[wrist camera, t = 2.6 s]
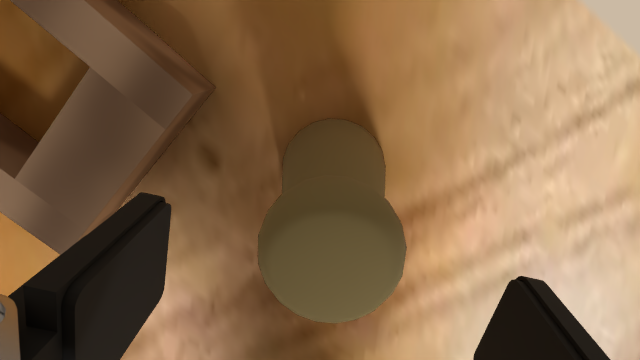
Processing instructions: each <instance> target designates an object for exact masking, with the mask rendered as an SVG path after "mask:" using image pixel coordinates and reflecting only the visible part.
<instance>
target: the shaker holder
mask: <svg viewBox="0 0 640 360" xmlns="http://www.w3.org/2000/svg"><path fill="white" fill-rule="evenodd" d="M10 1H11V2H13V3H14V4H15V5H16V6H17V7H19V8H20V9H21V10H22V11H23V12H25V13H26V14H27V15H28V16H29V17H31V18H32V19H33V20H34V21H35V22H37V23H38V24H39V25H40V26H41V27H43V28H44V29H45V30H46V31H48V32H49V33H50V34H51V35H52V36H54V37H55V38H56V39H57V40H58V41H60V42H61V43H62V44H63V45H64V46H66V47H67V48H68V49H69V50H70V51H72V52H73V53H74V54H75V55H76V56H78V57H79V58H80V59H81V60H82V61H84V62H85V63H86V64H87V65H88V66H90V68H89V69H88V71H87V72H86V74H85V75H84V77H83V78H82V80H81V81H80V83H79V84H78V86H77V87H76V89H75V90H74V92H73V93H72V95H71V96H70V98H69V99H68V101H67V102H66V104H65V105H64V107H63V108H62V109H61V111H60V112H59V114H58V115H57V117H56V118H55V120H54V121H53V123H52V124H51V126H50V127H49V129H48V130H47V132H46V133H45V135H44V136H43V138H42V139H41V141H40V142H37V141H36V140H35V139H33V138H32V137H31V136H29V135H28V134H27V133H25V132H24V131H23V130H22V129H20V128H19V127H18V126H16V125H15V124H14V123H12V122H11V121H10V120H8V119H7V118H6V117H4V116H3V115H2V114H1V113H0V212H1V213H2V214H4V215H5V216H7V217H8V218H9V219H11V220H12V221H14V222H15V223H16V224H18V225H19V226H21V227H22V228H24V229H25V230H26V231H28V232H29V233H31V234H32V235H33V236H35V237H36V238H38V239H39V240H40V241H42V242H43V243H45V244H46V245H48V246H49V247H50V248H52V249H53V250H55V251H56V252H57V253H59V254H60V255H61V254H62V253H64V252H65V251H66V250H67V249H69V248H70V247H71V246H73V245H74V244H75V243H76V242H78V241H79V240H80V239H81V238H83V237H84V236H86V235H87V234H89V233H90V232H91V231H93V230H94V229H95V228H96V227H98V226H99V225H100V224H101V223H103V222H104V221H105V220H106V219H108V218H109V217H110V216H111V215H113V214H114V213H115V212H116V211H117V209H118V208H119V207H120V206H121V204H122V203H123V202H124V201H125V199H126V198H127V197H128V196H129V195H130V193H131V192H132V191H133V190H134V188H135V187H136V186H137V185H138V183H139V182H140V181H141V180H142V178H143V177H144V176H145V175H146V173H147V172H148V171H149V170H150V168H151V167H152V166H153V165H154V163H155V162H156V161H157V160H158V158H159V157H160V156H161V155H162V154H163V152H164V151H165V150H166V149H167V147H168V146H169V145H170V144H171V142H172V141H173V140H174V139H175V137H176V136H177V135H178V134H179V132H180V131H181V130H182V129H183V127H184V126H185V125H186V124H187V122H188V121H189V120H190V119H191V118H192V116H193V115H194V114H195V113H196V111H197V110H198V109H199V108H200V106H201V105H202V104H203V103H204V101H205V100H206V99H207V98H208V96H209V95H210V94H211V93H212V91H213V90H214V89H215V88H216V87H214V86H213V85H212V84H211V83H210V82H209V81H208V80H207V79H205V78H204V77H203V76H202V75H201V74H200V73H199V72H198V71H196V70H195V69H194V68H193V67H192V66H191V65H190V64H189V63H187V62H186V61H185V60H184V59H183V58H182V57H181V56H180V55H178V54H177V53H176V52H175V51H174V50H173V49H172V48H171V47H169V46H168V45H167V44H166V43H165V42H164V41H163V40H162V39H160V38H159V37H158V36H157V35H156V34H155V33H154V32H152V31H151V30H150V29H149V28H148V27H147V26H146V25H145V24H143V23H142V22H141V21H140V20H139V19H138V18H137V17H136V16H134V15H133V14H132V13H131V12H130V11H129V10H128V9H127V8H125V7H124V6H123V5H122V4H121V3H120V2H119V1H118V0H10Z"/></svg>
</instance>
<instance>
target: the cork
mask: <svg viewBox="0 0 640 360" xmlns="http://www.w3.org/2000/svg"><path fill="white" fill-rule="evenodd" d="M384 197H385V162H384V157H383V152H382V150H381V148H380V146H379V144H378V143H377V141H376V139H375V138H374V137H373V136H372V135H371V134H370V133H369V132H368V131H366V130H365V129H364V128H363V127H362V126H360V125H357V124H355V123H352V122H350V121H347V120H340V119H326V120H322V121H318V122H314V123H312V124H310V125H308V126H307V127H305V128H304V129H302V130H300V131H299V132H298V133H297V134H296V136H295V137H294V138H293V139H292V140H291V142H290V143H289V144H288V147H287V149H286V152H285V155H284V157H283V175H282V195H281V196H280V197H279V198H278V199H277V200H276V202H275V203H274V204H273V205H272V206H271V207H270V209H269V210H268V212H267V214H266V217H265V219H264V222H263V224H262V227H261V230H260V232H259V235H258V264H259V267H260V270H261V273H262V276H263V279H264V281H265V284H266V285H267V286H268V288H269V289H270V290H271V292H272V293H273V294H274V295H275V297H276V298H277V299H278V300H279V302H280V303H281V304H283V305H284V306H285V307H287V308H288V309H290V310H291V311H292V312H294V313H295V314H297V315H299V316H302V317H304V318H307V319H310V320H313V321H316V322H326V323H341V322H346V321H352V320H356V319H358V318H361V317H363V316H365V315H367V314H369V313H371V312H373V311H374V310H375V309H376V308H377V307H379V306H380V305H381V304H382V303H383V302H384V301H385V300H386V299H387V298H388V297H389V296H390V295H391V294H392V293H393V292H394V290H395V288H396V286H397V284H398V283H399V281H400V279H401V277H402V274H403V268H404V262H405V255H406V248H407V247H406V242H405V237H404V232H403V227H402V224H401V222H400V220H399V218H398V216H397V215H396V213H395V211H394V210H393V208H392V206H391V205H390V203H389V202H388V200H386V199H385V198H384Z"/></svg>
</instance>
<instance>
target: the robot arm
mask: <svg viewBox="0 0 640 360" xmlns="http://www.w3.org/2000/svg"><path fill="white" fill-rule="evenodd" d="M170 218H171V205H170V204H168V203H166V202H165V198H164V197H161V196H157V195H152V194H147V193H143V192H141V193H139V194H138V195H137V196H135V197H134V198H133V199H132V200H130V201H129V202H128V203H127V204H125V205H124V206H123V207H122V208H120V209H119V210H118V211H117V212H115V213H114V214H113V215H111V216H110V217H109V218H108V219H106V220H105V221H104V222H103V223H101V224H100V225H99V226H98V227H96V228H95V229H94V230H93V231H91V232H90V233H89V234H87V235H86V236H84V237H83V238H81V239H80V240H79V241H78V242H76V243H75V244H74V245H73V246H71V247H70V248H69V249H67V250H66V251H65V252H64V253H62V254H61V255H60V256H59V257H57V258H56V259H55V260H54V261H52V262H51V263H50V264H48V265H47V266H46V267H45V268H43V269H42V270H41V271H40V272H38V273H37V274H36V275H35V276H33V277H32V278H31V279H30V280H28V281H27V282H26V283H24V284H23V285H22V286H21V287H19V288H18V289H17V290H16V291H14V292H13V293H12V294H11V295H9V296H8V297H7V296H5V295H2V294H0V360H120V359H121V357H122V356H123V354H124V353H125V351H126V350H127V348H128V347H129V345H130V344H131V342H132V341H133V339H134V338H135V336H136V335H137V333H138V332H139V330H140V329H141V327H142V326H143V324H144V323H145V321H146V320H147V319H148V317H149V316H150V314H151V313H152V311H153V310H154V308H155V307H156V305H157V304H158V302H159V301H160V299H161V297H162V294H163V291H164V285H165V274H166V263H167V251H168V240H169V229H170ZM474 360H610V359H609V358H608V356H607V355H606V354H605V353H604V352H603V350H602V349H601V348H600V347H599V346H598V344H597V343H596V342H595V341H594V340H593V339H592V337H591V336H590V335H589V334H588V333H587V331H586V330H585V329H584V328H583V327H582V325H581V324H580V323H579V322H578V321H577V320H576V318H575V317H574V316H573V315H572V314H571V312H570V311H569V310H568V309H567V308H566V306H565V305H564V304H563V303H562V302H561V300H560V299H559V298H558V297H557V296H556V295H555V293H554V292H553V291H552V290H551V289H550V287H549V286H548V285H547V284H546V283H545V282H544V281H542V280H538V279H533V278H529V277H524V276H519V277H518V278H516V279H515V280H511V281H510V282H509V284H508V285H507V287H506V289H505V292H504V294H503V296H502V298H501V300H500V302H499V304H498V306H497V308H496V310H495V312H494V314H493V316H492V318H491V320H490V322H489V324H488V326H487V328H486V330H485V333H484V335H483V337H482V339H481V341H480V343H479V345H478V347H477V349H476V351H475V354H474Z"/></svg>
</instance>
